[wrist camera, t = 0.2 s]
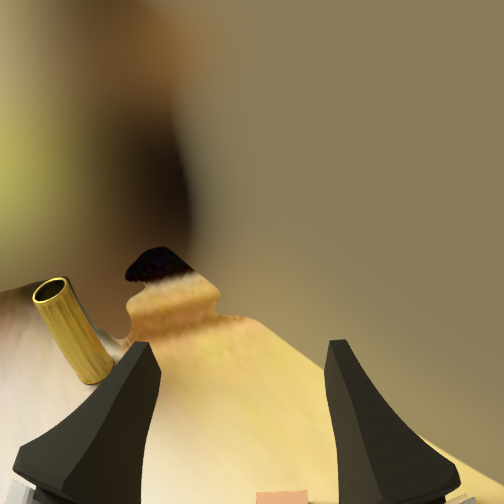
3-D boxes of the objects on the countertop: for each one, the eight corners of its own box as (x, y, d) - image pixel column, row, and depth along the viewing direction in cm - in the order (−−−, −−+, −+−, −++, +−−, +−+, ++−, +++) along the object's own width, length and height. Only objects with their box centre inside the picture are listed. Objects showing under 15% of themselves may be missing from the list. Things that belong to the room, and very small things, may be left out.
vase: (97, 348, 42) (56, 271, 34) (121, 363, 39) (78, 281, 32) (71, 373, 37) (22, 296, 30) (93, 391, 34) (40, 311, 27)
